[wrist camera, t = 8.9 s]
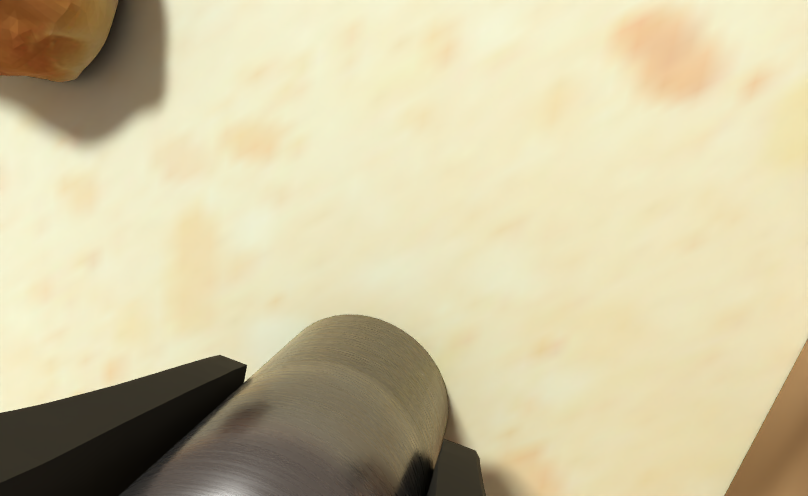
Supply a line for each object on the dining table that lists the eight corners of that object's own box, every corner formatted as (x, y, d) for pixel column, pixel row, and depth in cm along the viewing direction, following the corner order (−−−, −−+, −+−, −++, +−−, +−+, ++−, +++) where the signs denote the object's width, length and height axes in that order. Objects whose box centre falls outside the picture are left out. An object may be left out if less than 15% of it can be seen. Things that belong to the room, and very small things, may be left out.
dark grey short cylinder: (421, 503, 12) (320, 860, 6) (263, 441, 12) (36, 711, 7) (470, 350, 11) (405, 610, 5) (294, 290, 11) (53, 458, 5)
